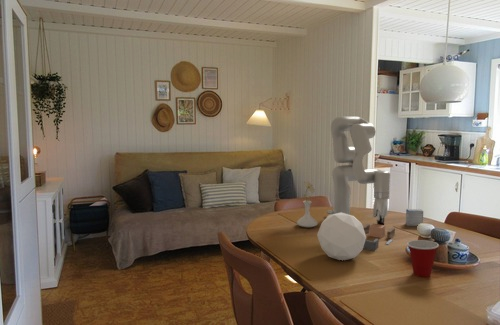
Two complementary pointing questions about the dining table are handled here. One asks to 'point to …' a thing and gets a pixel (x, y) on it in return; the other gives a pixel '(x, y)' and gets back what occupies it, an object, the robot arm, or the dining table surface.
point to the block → (377, 230)
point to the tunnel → (389, 233)
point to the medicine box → (414, 217)
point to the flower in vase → (307, 210)
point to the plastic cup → (422, 256)
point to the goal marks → (389, 241)
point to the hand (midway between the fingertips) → (380, 230)
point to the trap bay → (371, 245)
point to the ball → (341, 236)
